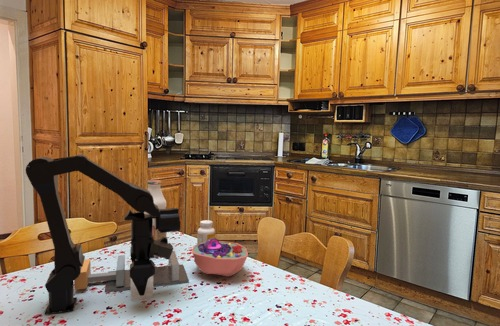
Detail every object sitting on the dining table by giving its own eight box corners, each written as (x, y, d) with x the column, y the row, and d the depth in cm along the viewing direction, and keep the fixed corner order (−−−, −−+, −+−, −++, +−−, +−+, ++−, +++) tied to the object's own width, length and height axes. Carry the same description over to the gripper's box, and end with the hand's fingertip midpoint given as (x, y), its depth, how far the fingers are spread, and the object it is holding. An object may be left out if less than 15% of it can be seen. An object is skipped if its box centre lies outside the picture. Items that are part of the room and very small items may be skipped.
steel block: (153, 297, 93) (153, 273, 93) (130, 300, 91) (130, 275, 91) (152, 290, 97) (152, 267, 96) (130, 293, 95) (130, 269, 94)
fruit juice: (139, 258, 121) (139, 182, 119) (141, 249, 130) (142, 179, 128) (166, 257, 123) (166, 182, 121) (166, 248, 132) (167, 179, 130)
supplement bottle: (216, 252, 130) (216, 220, 129) (212, 258, 124) (213, 224, 123) (199, 250, 131) (200, 219, 130) (195, 256, 125) (195, 223, 123)
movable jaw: (123, 285, 97) (123, 269, 97) (73, 291, 93) (73, 274, 92) (124, 269, 108) (124, 255, 108) (80, 273, 104) (80, 258, 104)
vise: (188, 282, 103) (189, 263, 102) (104, 292, 95) (104, 272, 95) (183, 266, 115) (183, 249, 115) (108, 273, 107) (108, 256, 107)
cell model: (225, 291, 98) (226, 254, 97) (180, 272, 110) (180, 239, 109) (258, 273, 112) (259, 240, 111) (215, 258, 124) (215, 229, 123)
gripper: (175, 242, 86) (174, 299, 88) (168, 223, 104) (167, 271, 105) (129, 245, 83) (129, 305, 84) (130, 225, 100) (130, 275, 102)
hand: (141, 287), depth 94 cm, fingers open, 9 cm apart
